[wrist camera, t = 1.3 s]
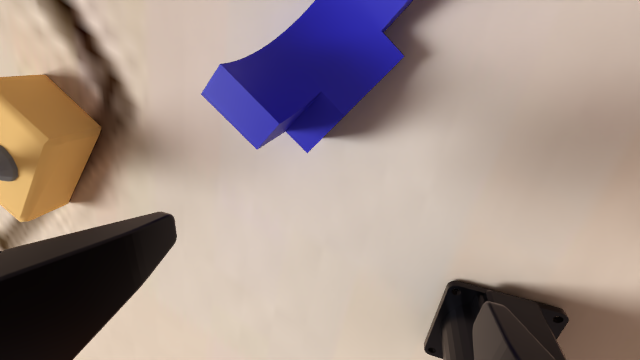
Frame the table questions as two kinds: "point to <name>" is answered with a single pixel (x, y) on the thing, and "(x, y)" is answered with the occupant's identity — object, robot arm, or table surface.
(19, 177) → the rubber stamp
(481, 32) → the table surface
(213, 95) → the blue notched cradle
